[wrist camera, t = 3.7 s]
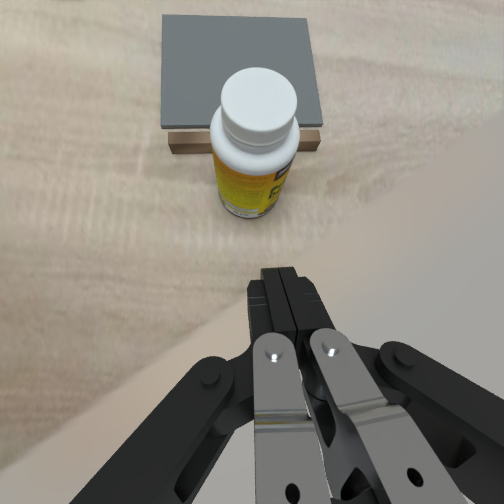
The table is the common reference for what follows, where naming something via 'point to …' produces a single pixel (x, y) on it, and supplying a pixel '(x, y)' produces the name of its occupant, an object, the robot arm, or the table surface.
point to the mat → (231, 64)
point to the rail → (202, 144)
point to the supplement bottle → (254, 140)
